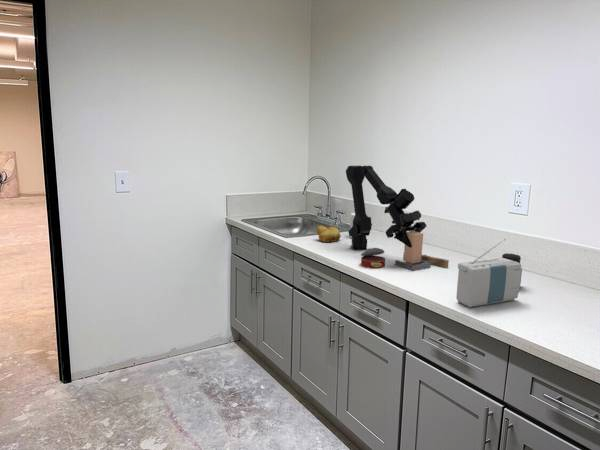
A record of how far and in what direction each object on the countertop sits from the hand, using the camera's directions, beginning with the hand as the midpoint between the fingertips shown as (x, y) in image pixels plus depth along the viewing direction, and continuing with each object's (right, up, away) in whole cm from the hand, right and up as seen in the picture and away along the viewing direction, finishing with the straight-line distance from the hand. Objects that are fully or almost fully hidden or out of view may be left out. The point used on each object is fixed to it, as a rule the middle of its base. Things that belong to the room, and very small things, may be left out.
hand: (415, 246), depth 193 cm
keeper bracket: (-1, -8, +3) cm, 9 cm away
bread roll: (-32, 0, +47) cm, 57 cm away
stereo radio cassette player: (+14, -17, -38) cm, 44 cm away
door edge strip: (+6, -7, +8) cm, 12 cm away
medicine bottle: (+28, -14, -22) cm, 38 cm away
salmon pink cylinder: (-1, -6, +2) cm, 7 cm away
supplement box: (-17, +2, +56) cm, 58 cm away
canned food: (-17, -8, +3) cm, 19 cm away
